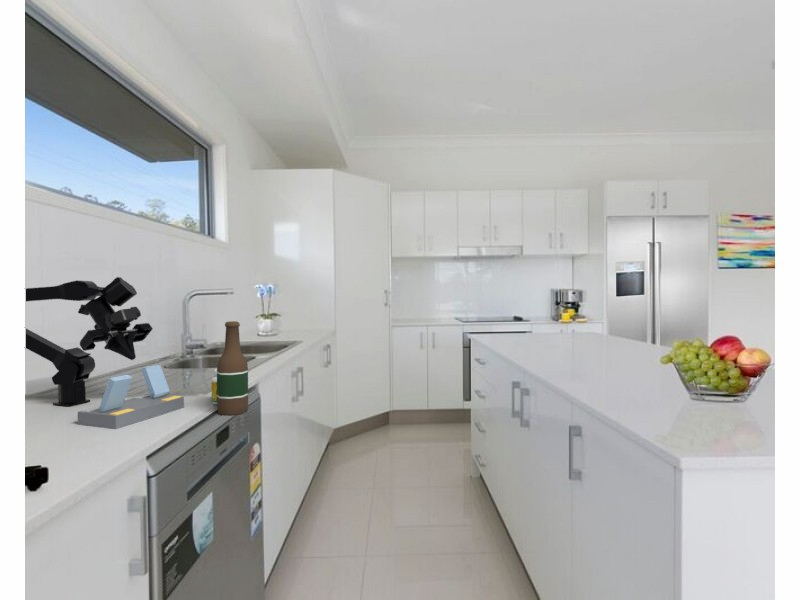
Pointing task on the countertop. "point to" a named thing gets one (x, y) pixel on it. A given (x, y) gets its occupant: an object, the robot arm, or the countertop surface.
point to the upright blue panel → (115, 392)
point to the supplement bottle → (214, 388)
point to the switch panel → (130, 411)
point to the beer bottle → (232, 375)
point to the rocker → (155, 381)
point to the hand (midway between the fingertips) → (133, 358)
